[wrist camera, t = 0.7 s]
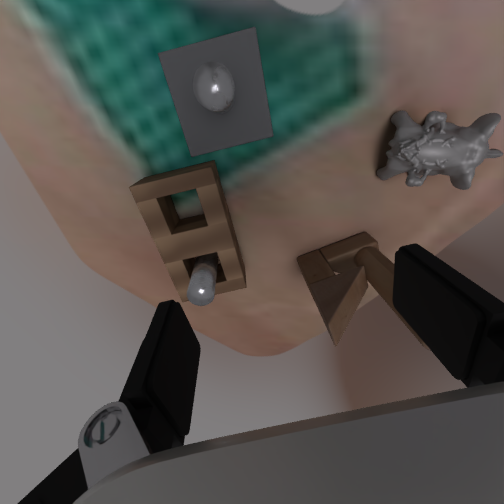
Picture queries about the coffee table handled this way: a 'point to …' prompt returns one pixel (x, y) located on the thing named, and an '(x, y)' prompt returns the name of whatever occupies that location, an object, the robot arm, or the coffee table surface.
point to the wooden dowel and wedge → (348, 280)
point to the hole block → (191, 226)
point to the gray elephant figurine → (439, 148)
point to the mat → (245, 94)
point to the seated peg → (203, 279)
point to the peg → (214, 87)
